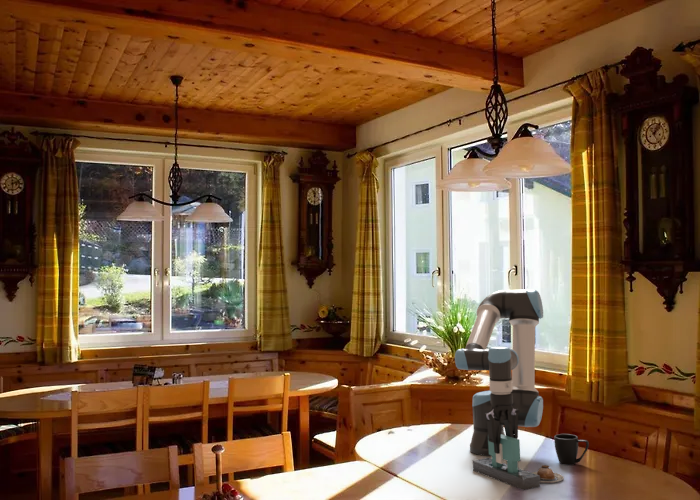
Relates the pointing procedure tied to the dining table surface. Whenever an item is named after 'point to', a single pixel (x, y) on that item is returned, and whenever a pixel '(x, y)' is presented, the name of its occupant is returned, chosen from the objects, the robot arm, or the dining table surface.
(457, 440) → the dining table surface
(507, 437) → the clip
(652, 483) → the dining table surface
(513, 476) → the rail
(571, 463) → the mug
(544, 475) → the pastry
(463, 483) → the dining table surface
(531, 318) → the robot arm
